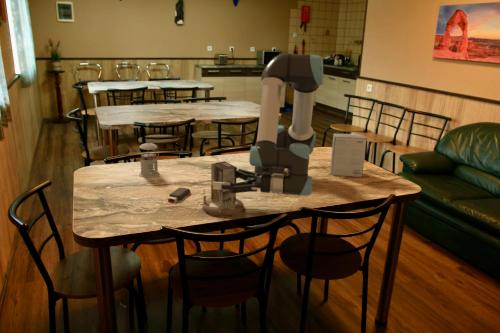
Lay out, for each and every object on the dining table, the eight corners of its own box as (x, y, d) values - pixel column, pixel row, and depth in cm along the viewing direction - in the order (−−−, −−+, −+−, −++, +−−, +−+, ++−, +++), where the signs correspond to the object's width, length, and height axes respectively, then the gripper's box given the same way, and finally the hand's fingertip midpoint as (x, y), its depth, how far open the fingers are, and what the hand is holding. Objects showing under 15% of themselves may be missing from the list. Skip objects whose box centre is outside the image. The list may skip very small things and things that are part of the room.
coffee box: (236, 206, 158) (237, 167, 153) (222, 209, 154) (222, 169, 149) (224, 198, 165) (225, 160, 160) (210, 201, 161) (210, 162, 156)
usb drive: (190, 193, 174) (190, 187, 173) (177, 204, 163) (177, 197, 162) (179, 191, 175) (179, 185, 174) (165, 202, 164) (165, 195, 163)
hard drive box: (359, 172, 208) (365, 134, 202) (362, 177, 201) (367, 138, 195) (329, 170, 210) (333, 132, 203) (330, 175, 202) (334, 136, 196)
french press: (134, 175, 190) (131, 123, 182) (149, 168, 201) (147, 118, 193) (152, 179, 187) (150, 126, 179) (166, 171, 197) (164, 121, 189)
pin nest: (207, 198, 168) (207, 188, 167) (245, 201, 167) (245, 191, 165) (198, 215, 153) (198, 204, 152) (240, 218, 152) (241, 207, 150)
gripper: (268, 205, 144) (209, 200, 146) (272, 181, 167) (221, 177, 169) (269, 185, 142) (209, 181, 143) (273, 163, 165) (222, 160, 167)
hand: (216, 178), depth 156 cm, fingers open, 13 cm apart
